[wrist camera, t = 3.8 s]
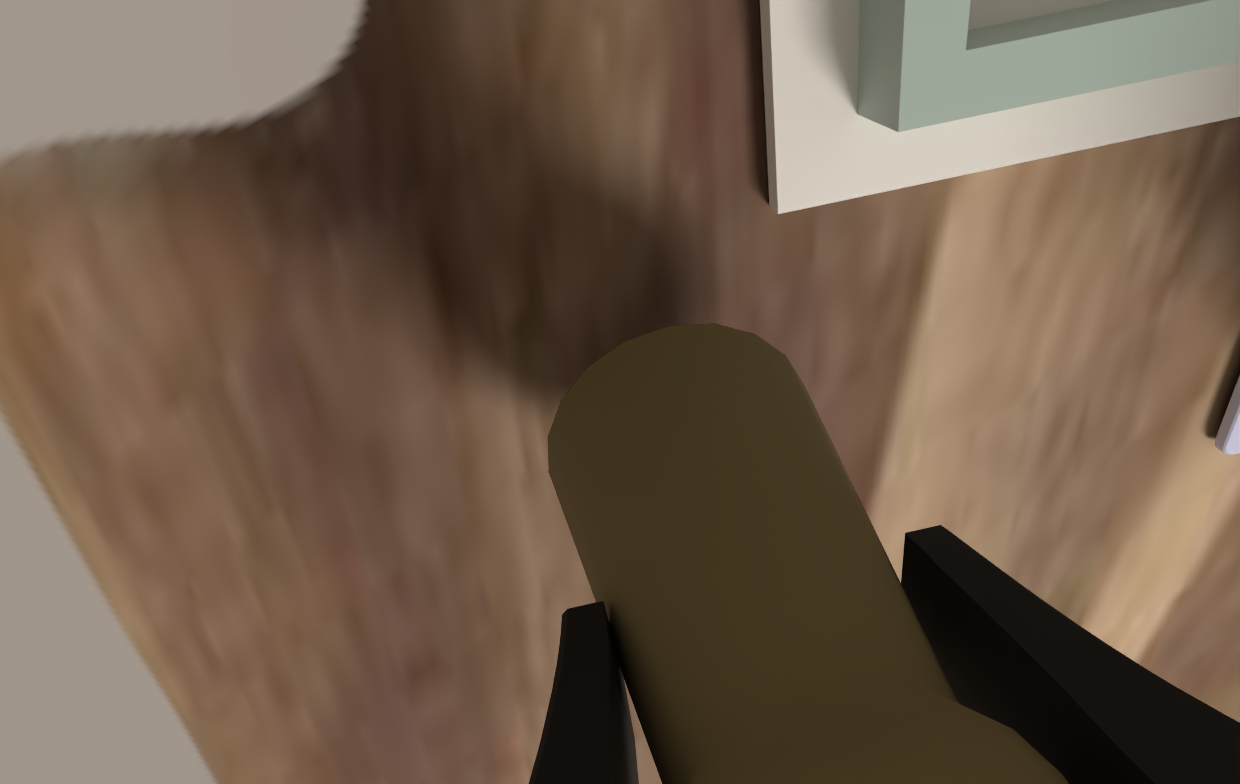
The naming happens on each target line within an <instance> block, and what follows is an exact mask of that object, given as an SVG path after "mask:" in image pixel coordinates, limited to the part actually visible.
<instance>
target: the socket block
mask: <svg viewBox="0 0 1240 784" xmlns="http://www.w3.org/2000/svg"><path fill="white" fill-rule="evenodd" d="M760 16H761V37H762V59H763V80H764V101H765V122H766V144H767V165H768V186H769V206H770V207H771V208H772V209H773V210H774V211H775V212H776V213H777V214H781V213H786V212H790V211H795V210H800V209H805V208H809V207H814V206H819V205H824V204H828V203H833V202H838V201H843V200H847V199H852V198H857V197H862V196H866V195H871V194H876V193H880V192H885V191H890V190H895V189H899V188H904V187H909V186H914V185H918V184H923V183H928V182H933V181H937V180H942V179H947V178H951V177H956V176H961V175H966V174H970V173H975V172H980V171H985V170H989V169H994V168H999V167H1004V166H1008V165H1013V164H1018V163H1022V162H1027V161H1032V160H1037V159H1041V158H1046V157H1051V156H1056V155H1060V154H1065V153H1070V152H1075V151H1079V150H1084V149H1089V148H1094V147H1098V146H1103V145H1108V144H1112V143H1117V142H1122V141H1127V140H1131V139H1136V138H1141V137H1146V136H1150V135H1155V134H1160V133H1165V132H1169V131H1174V130H1179V129H1183V128H1188V127H1193V126H1198V125H1202V124H1207V123H1212V122H1217V121H1221V120H1226V119H1231V118H1236V117H1240V0H760Z"/></svg>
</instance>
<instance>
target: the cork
mask: <svg viewBox="0 0 1240 784" xmlns="http://www.w3.org/2000/svg"><path fill="white" fill-rule="evenodd" d="M548 462H549V474H550V477H551V479H552V482H553V485H554V488H555V490H556V493H557V496H558V499H559V501H560V504H561V507H562V510H563V512H564V515H565V518H566V521H567V523H568V526H569V529H570V532H571V534H572V537H573V540H574V543H575V545H576V548H577V551H578V553H579V556H580V559H581V562H582V564H583V567H584V570H585V573H586V575H587V578H588V581H589V584H590V586H591V589H592V592H593V595H594V597H595V600H596V602H601V601H604V605H605V609H606V612H607V616H608V620H609V624H610V629H611V634H612V639H613V644H614V649H615V654H616V658H617V660H618V663H619V666H620V669H621V671H622V674H623V677H624V680H625V682H626V685H627V688H628V691H629V693H630V696H631V699H632V702H633V704H634V707H635V710H636V713H637V715H638V718H639V721H640V723H641V726H642V729H643V732H644V734H645V737H646V740H647V743H648V745H649V748H650V751H651V754H652V756H653V759H654V762H655V765H656V767H657V770H658V773H659V776H660V778H661V781H662V784H1069V783H1068V782H1067V780H1066V779H1065V778H1064V776H1063V775H1062V774H1061V773H1060V772H1059V771H1058V770H1057V769H1056V768H1055V767H1054V766H1053V765H1052V764H1051V763H1049V762H1048V761H1047V760H1046V759H1045V758H1044V757H1043V756H1042V755H1041V754H1040V753H1039V752H1038V751H1036V750H1035V749H1034V748H1033V747H1032V746H1031V745H1030V744H1029V743H1028V742H1027V741H1026V740H1025V739H1023V738H1022V737H1021V736H1020V735H1019V734H1018V733H1017V732H1016V731H1015V730H1014V729H1012V728H1010V727H1008V726H1005V725H1003V724H1001V723H999V722H997V721H995V720H993V719H990V718H988V717H986V716H984V715H982V714H980V713H978V712H976V711H973V710H971V709H969V708H967V707H965V706H963V705H961V704H959V702H958V700H957V698H956V696H955V694H954V692H953V690H952V688H951V686H950V684H949V682H948V680H947V678H946V675H945V673H944V671H943V669H942V667H941V665H940V663H939V661H938V659H937V657H936V655H935V653H934V651H933V649H932V647H931V645H930V643H929V641H928V638H927V636H926V634H925V632H924V630H923V628H922V626H921V624H920V622H919V620H918V618H917V616H916V614H915V612H914V610H913V608H912V606H911V604H910V602H909V599H908V597H907V595H906V593H905V591H904V589H903V587H902V585H901V583H900V581H899V579H898V577H897V575H896V573H895V571H894V569H893V567H892V565H891V562H890V560H889V558H888V556H887V554H886V552H885V550H884V548H883V546H882V544H881V542H880V540H879V538H878V536H877V534H876V532H875V530H874V528H873V525H872V523H871V521H870V519H869V517H868V515H867V513H866V511H865V509H864V507H863V505H862V503H861V501H860V499H859V497H858V495H857V493H856V491H855V488H854V486H853V484H852V482H851V480H850V478H849V476H848V474H847V472H846V470H845V468H844V466H843V464H842V462H841V460H840V458H839V456H838V454H837V451H836V449H835V447H834V445H833V443H832V441H831V439H830V437H829V435H828V433H827V431H826V429H825V427H824V425H823V423H822V421H821V419H820V417H819V414H818V412H817V410H816V408H815V406H814V404H813V402H812V400H811V398H810V396H809V394H808V392H807V390H806V388H805V386H804V384H803V382H802V381H801V379H800V378H799V376H798V374H797V373H796V371H795V370H794V368H793V366H792V365H791V363H790V362H789V360H788V359H787V357H786V355H784V354H783V353H781V352H780V351H778V350H777V349H776V348H774V347H773V346H771V345H770V344H768V343H767V342H766V341H764V340H763V339H761V338H760V337H758V336H757V335H756V334H753V333H749V332H745V331H741V330H737V329H734V328H730V327H726V326H722V325H719V324H696V325H676V326H668V327H665V328H662V329H659V330H656V331H653V332H650V333H647V334H644V335H642V336H639V337H636V338H633V339H630V340H627V341H625V342H623V343H622V344H620V345H619V346H617V347H616V348H615V349H613V350H612V351H610V352H609V353H607V354H606V355H605V356H603V357H602V358H600V359H599V360H597V361H596V362H594V363H593V364H592V365H590V366H589V367H587V369H586V370H585V371H584V372H583V374H582V375H581V376H580V377H579V379H578V380H577V381H576V382H575V384H574V385H573V386H572V387H571V389H570V390H569V391H568V392H567V394H566V395H565V396H564V397H563V399H562V400H561V402H560V405H559V407H558V410H557V413H556V416H555V418H554V421H553V424H552V427H551V430H550V432H549V435H548Z"/></svg>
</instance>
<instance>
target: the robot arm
mask: <svg viewBox="0 0 1240 784" xmlns="http://www.w3.org/2000/svg"><path fill="white" fill-rule="evenodd" d="M1215 446H1216V448H1218V449H1219V450H1221V451H1222V452H1224V453H1225V454H1228V455H1232V454H1238V453H1240V376H1239V378H1238V381H1237V383H1236V386H1235V389H1234V391H1233V394H1232V397H1231V399H1230V402H1229V404H1228V407H1227V410H1226V412H1225V415H1224V418H1223V420H1222V423H1221V426H1220V428H1219V431H1218V433H1217V436H1216V439H1215ZM901 585H902V587H903V589H904V591H905V593H906V595H907V597H908V599H909V602H910V604H911V606H912V608H913V610H914V612H915V614H916V616H917V618H918V620H919V622H920V624H921V626H922V628H923V630H924V632H925V634H926V636H927V638H928V641H929V643H930V645H931V647H932V649H933V651H934V653H935V655H936V657H937V659H938V661H939V663H940V665H941V667H942V669H943V671H944V673H945V675H946V678H947V680H948V682H949V684H950V686H951V688H952V690H953V692H954V694H955V696H956V698H957V700H958V702H959V704H961V705H963V706H965V707H967V708H969V709H971V710H973V711H976V712H978V713H980V714H982V715H984V716H986V717H988V718H990V719H993V720H995V721H997V722H999V723H1001V724H1003V725H1005V726H1008V727H1010V728H1012V729H1014V730H1015V731H1016V732H1017V733H1018V734H1019V735H1020V736H1021V737H1022V738H1023V739H1025V740H1026V741H1027V742H1028V743H1029V744H1030V745H1031V746H1032V747H1033V748H1034V749H1035V750H1036V751H1038V752H1039V753H1040V754H1041V755H1042V756H1043V757H1044V758H1045V759H1046V760H1047V761H1048V762H1049V763H1051V764H1052V765H1053V766H1054V767H1055V768H1056V769H1057V770H1058V771H1059V772H1060V773H1061V774H1062V775H1063V776H1064V778H1065V779H1066V780H1067V782H1068V783H1069V784H1240V723H1239V722H1237V721H1235V720H1234V719H1232V718H1230V717H1228V716H1226V715H1224V714H1223V713H1221V712H1219V711H1217V710H1216V709H1214V708H1212V707H1210V706H1209V705H1207V704H1205V703H1203V702H1201V701H1200V700H1198V699H1196V698H1194V697H1193V696H1191V695H1189V694H1187V693H1186V692H1184V691H1182V690H1180V689H1178V688H1177V687H1175V686H1173V685H1172V684H1170V683H1168V682H1167V681H1165V680H1163V679H1162V678H1160V677H1158V676H1157V675H1155V674H1153V673H1152V672H1150V671H1149V670H1147V669H1145V668H1144V667H1142V666H1140V665H1139V664H1137V663H1136V662H1134V661H1133V660H1131V659H1130V658H1128V657H1126V656H1125V655H1123V654H1122V653H1120V652H1119V651H1117V650H1115V649H1114V648H1112V647H1111V646H1109V645H1108V644H1106V643H1105V642H1103V641H1102V640H1100V639H1099V638H1097V637H1096V636H1094V635H1093V634H1091V633H1090V632H1088V631H1087V630H1085V629H1084V628H1082V627H1081V626H1079V625H1078V624H1076V623H1075V622H1073V621H1072V620H1070V619H1069V618H1068V617H1066V616H1065V615H1063V614H1062V613H1060V612H1059V611H1058V610H1056V609H1055V608H1053V607H1052V606H1050V605H1049V604H1048V603H1046V602H1045V601H1043V600H1042V599H1040V598H1039V597H1038V596H1036V595H1035V594H1033V593H1032V592H1031V591H1029V590H1028V589H1026V588H1025V587H1024V586H1022V585H1021V584H1020V583H1018V582H1017V581H1015V580H1014V579H1013V578H1011V577H1010V576H1009V575H1007V574H1006V573H1005V572H1003V571H1002V570H1001V569H999V568H998V567H996V566H995V565H994V564H992V563H991V562H990V561H988V560H987V559H986V558H984V557H983V556H982V555H980V554H979V553H978V552H976V551H975V550H974V549H972V548H971V547H970V546H969V545H967V544H966V543H965V542H963V541H962V540H961V539H959V538H958V537H957V536H955V535H954V534H952V533H951V532H950V531H948V530H947V529H946V528H944V527H943V526H941V525H939V526H934V527H930V528H925V529H921V530H916V531H912V532H908V533H905V543H904V555H903V567H902V579H901ZM529 784H639V782H638V771H637V760H636V749H635V738H634V733H633V727H632V722H631V716H630V710H629V705H628V699H627V694H626V688H625V683H624V677H623V674H622V671H621V669H620V666H619V663H618V660H617V658H616V654H615V649H614V644H613V639H612V634H611V629H610V624H609V620H608V616H607V612H606V609H605V605H604V601H601V602H596V603H592V604H587V605H583V606H578V607H574V608H569V609H567V610H566V611H565V612H564V613H563V615H562V624H561V637H560V646H559V653H558V660H557V666H556V672H555V677H554V683H553V688H552V693H551V698H550V702H549V707H548V711H547V715H546V720H545V724H544V729H543V733H542V737H541V741H540V745H539V749H538V753H537V756H536V760H535V763H534V767H533V770H532V774H531V777H530V781H529Z"/></svg>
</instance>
